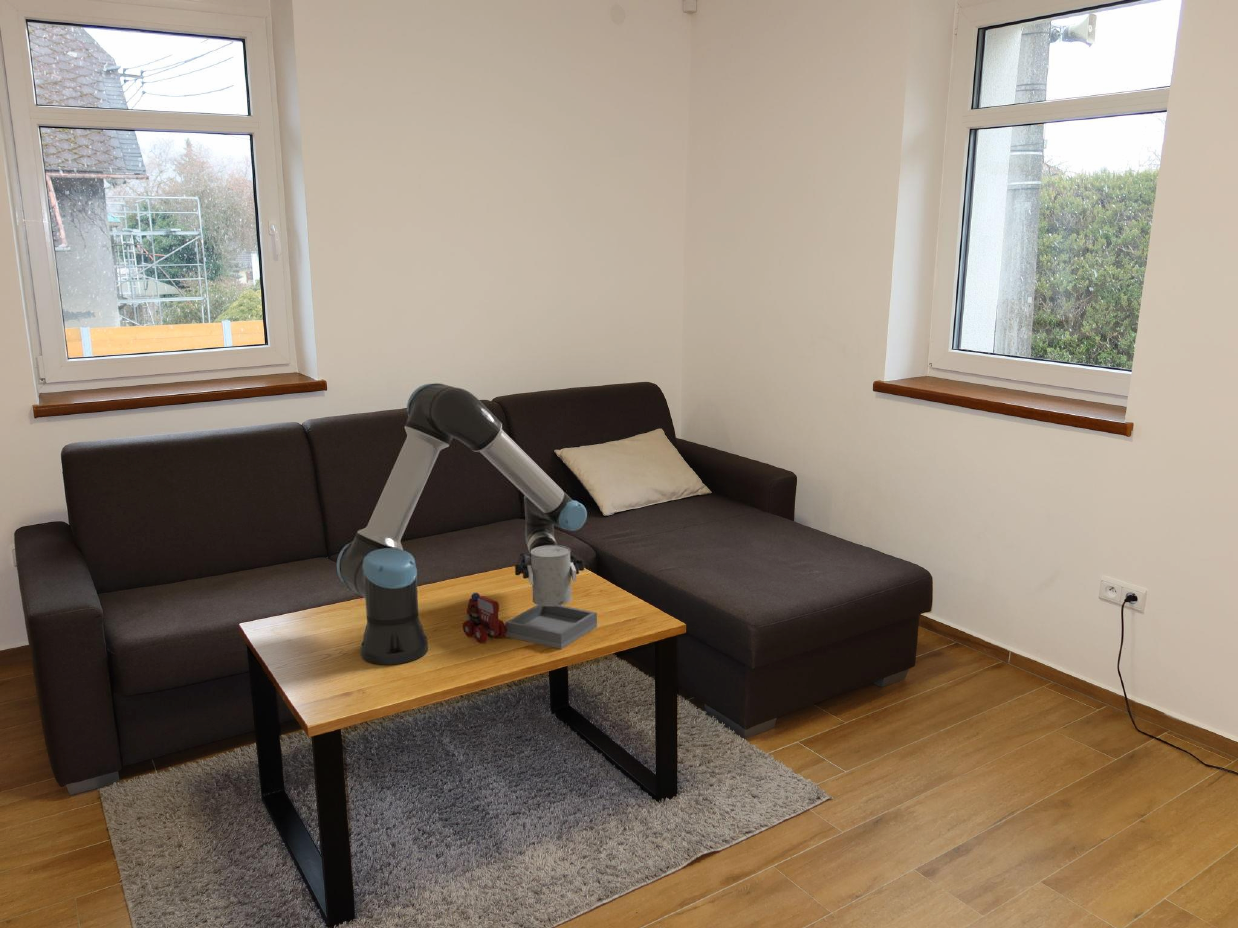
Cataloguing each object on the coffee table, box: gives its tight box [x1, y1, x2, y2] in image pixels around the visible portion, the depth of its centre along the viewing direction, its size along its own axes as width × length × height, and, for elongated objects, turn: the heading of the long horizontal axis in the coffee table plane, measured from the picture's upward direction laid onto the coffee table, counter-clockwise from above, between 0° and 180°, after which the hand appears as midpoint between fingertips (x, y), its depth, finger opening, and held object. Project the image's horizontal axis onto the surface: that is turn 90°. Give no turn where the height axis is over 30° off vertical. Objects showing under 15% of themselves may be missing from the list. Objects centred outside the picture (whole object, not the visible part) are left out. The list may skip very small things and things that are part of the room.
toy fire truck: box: [462, 592, 506, 644], centre depth 233 cm, size 7×12×10 cm, turn 40°
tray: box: [504, 604, 598, 650], centre depth 236 cm, size 16×16×4 cm
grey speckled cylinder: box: [531, 544, 573, 607], centre depth 234 cm, size 10×10×12 cm
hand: (553, 577), depth 229 cm, fingers closed on grey speckled cylinder, 9 cm apart
